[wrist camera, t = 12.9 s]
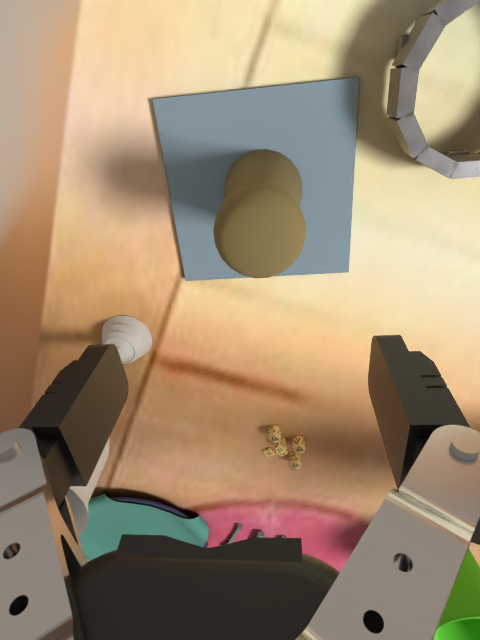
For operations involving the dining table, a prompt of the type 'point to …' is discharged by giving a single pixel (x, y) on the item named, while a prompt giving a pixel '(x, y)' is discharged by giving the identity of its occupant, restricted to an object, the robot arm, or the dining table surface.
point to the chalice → (131, 346)
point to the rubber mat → (257, 134)
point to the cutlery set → (139, 524)
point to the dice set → (280, 447)
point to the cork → (261, 215)
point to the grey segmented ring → (405, 86)
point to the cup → (462, 605)
